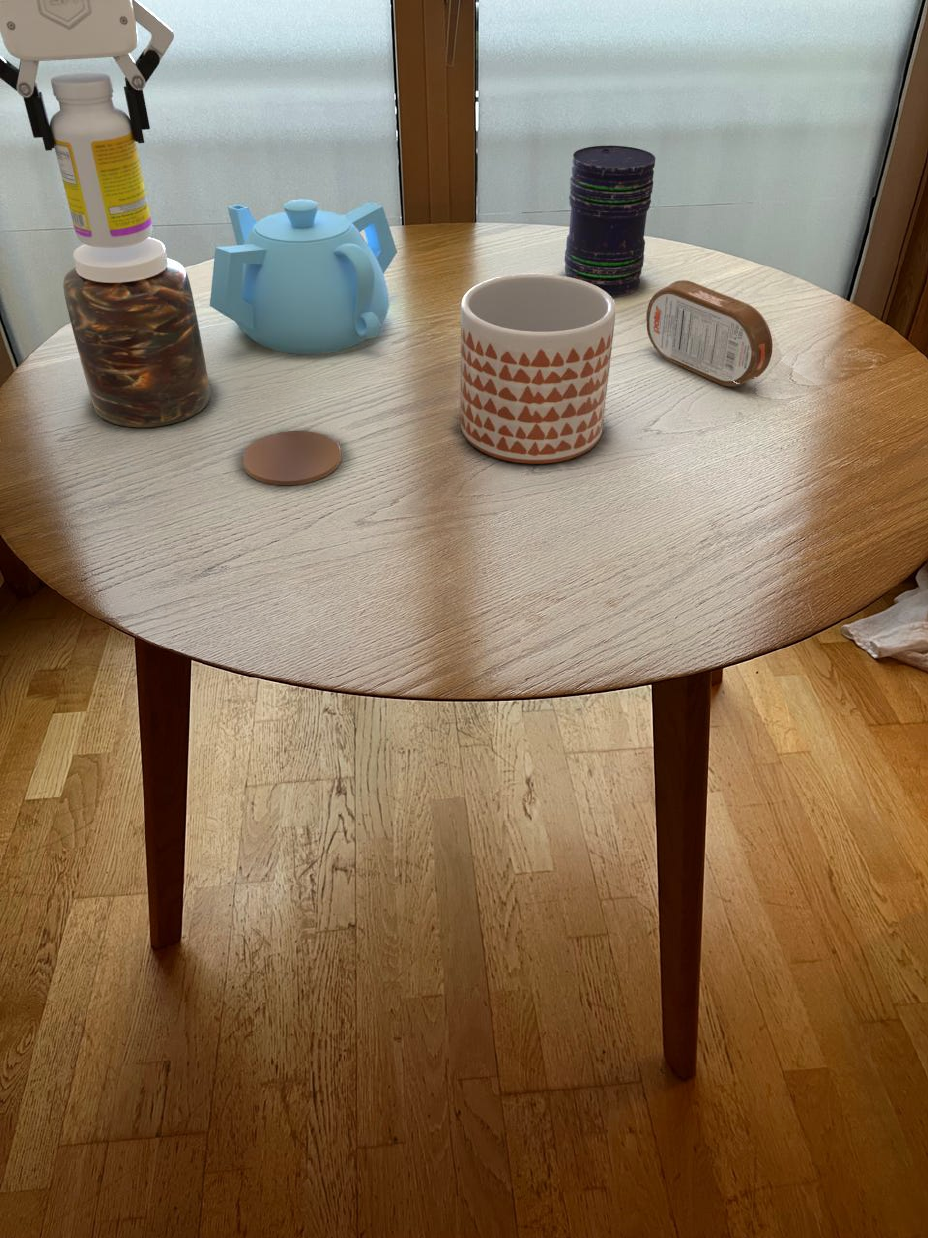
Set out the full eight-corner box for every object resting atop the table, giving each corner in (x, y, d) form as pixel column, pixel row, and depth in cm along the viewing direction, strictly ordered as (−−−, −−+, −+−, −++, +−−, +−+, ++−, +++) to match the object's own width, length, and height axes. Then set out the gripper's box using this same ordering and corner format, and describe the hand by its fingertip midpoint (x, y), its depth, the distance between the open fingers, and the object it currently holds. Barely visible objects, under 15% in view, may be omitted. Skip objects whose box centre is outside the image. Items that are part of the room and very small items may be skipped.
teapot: (399, 296, 118) (394, 177, 109) (387, 366, 103) (379, 235, 94) (244, 295, 118) (226, 176, 109) (210, 365, 104) (185, 234, 95)
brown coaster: (252, 493, 84) (251, 488, 84) (235, 444, 91) (234, 439, 90) (352, 475, 86) (351, 470, 86) (328, 428, 93) (328, 424, 93)
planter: (499, 385, 100) (503, 262, 92) (622, 416, 95) (638, 289, 87) (434, 443, 91) (432, 313, 83) (567, 480, 86) (579, 346, 78)
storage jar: (652, 294, 119) (669, 165, 109) (577, 300, 117) (588, 170, 108) (624, 265, 126) (638, 142, 117) (553, 271, 125) (561, 147, 115)
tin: (765, 391, 99) (783, 312, 94) (746, 400, 98) (763, 321, 92) (655, 343, 108) (666, 268, 103) (636, 351, 107) (646, 275, 101)
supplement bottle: (164, 227, 89) (135, 70, 81) (138, 252, 84) (105, 87, 76) (94, 224, 89) (58, 68, 81) (64, 248, 84) (23, 84, 76)
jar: (229, 379, 101) (205, 233, 91) (184, 433, 92) (152, 278, 82) (124, 369, 102) (89, 225, 93) (70, 422, 94) (26, 268, 84)
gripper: (-99, -119, 65) (-16, 163, 77) (163, -121, 70) (204, 145, 81) (-90, -124, 71) (-14, 140, 82) (152, -126, 75) (192, 124, 87)
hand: (94, 140), depth 81 cm, fingers closed on supplement bottle, 6 cm apart
